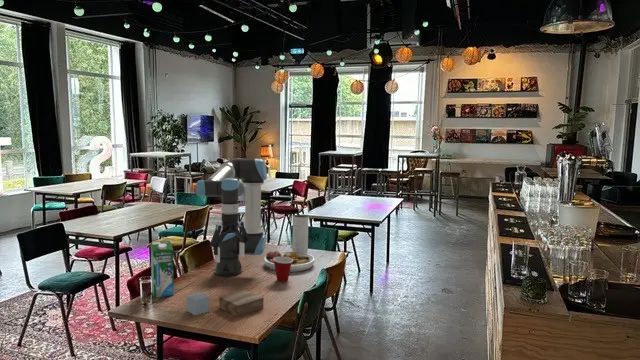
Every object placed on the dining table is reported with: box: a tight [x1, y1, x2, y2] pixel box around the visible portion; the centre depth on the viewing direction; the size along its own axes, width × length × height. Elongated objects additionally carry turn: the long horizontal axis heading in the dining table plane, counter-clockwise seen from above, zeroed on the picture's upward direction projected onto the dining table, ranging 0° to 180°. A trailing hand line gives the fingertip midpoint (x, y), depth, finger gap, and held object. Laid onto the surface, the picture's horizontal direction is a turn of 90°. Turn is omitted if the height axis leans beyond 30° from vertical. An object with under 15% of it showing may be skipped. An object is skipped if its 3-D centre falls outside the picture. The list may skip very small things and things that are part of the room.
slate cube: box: [186, 291, 210, 316], centre depth 195 cm, size 7×7×7 cm
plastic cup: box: [273, 257, 293, 283], centre depth 238 cm, size 11×11×12 cm
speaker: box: [291, 214, 310, 254], centre depth 292 cm, size 11×10×26 cm
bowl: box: [263, 250, 315, 273], centre depth 266 cm, size 30×30×8 cm
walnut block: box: [218, 289, 264, 317], centre depth 200 cm, size 14×14×5 cm
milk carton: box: [150, 240, 175, 299], centre depth 215 cm, size 9×9×25 cm
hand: (229, 259), depth 201 cm, fingers open, 13 cm apart
